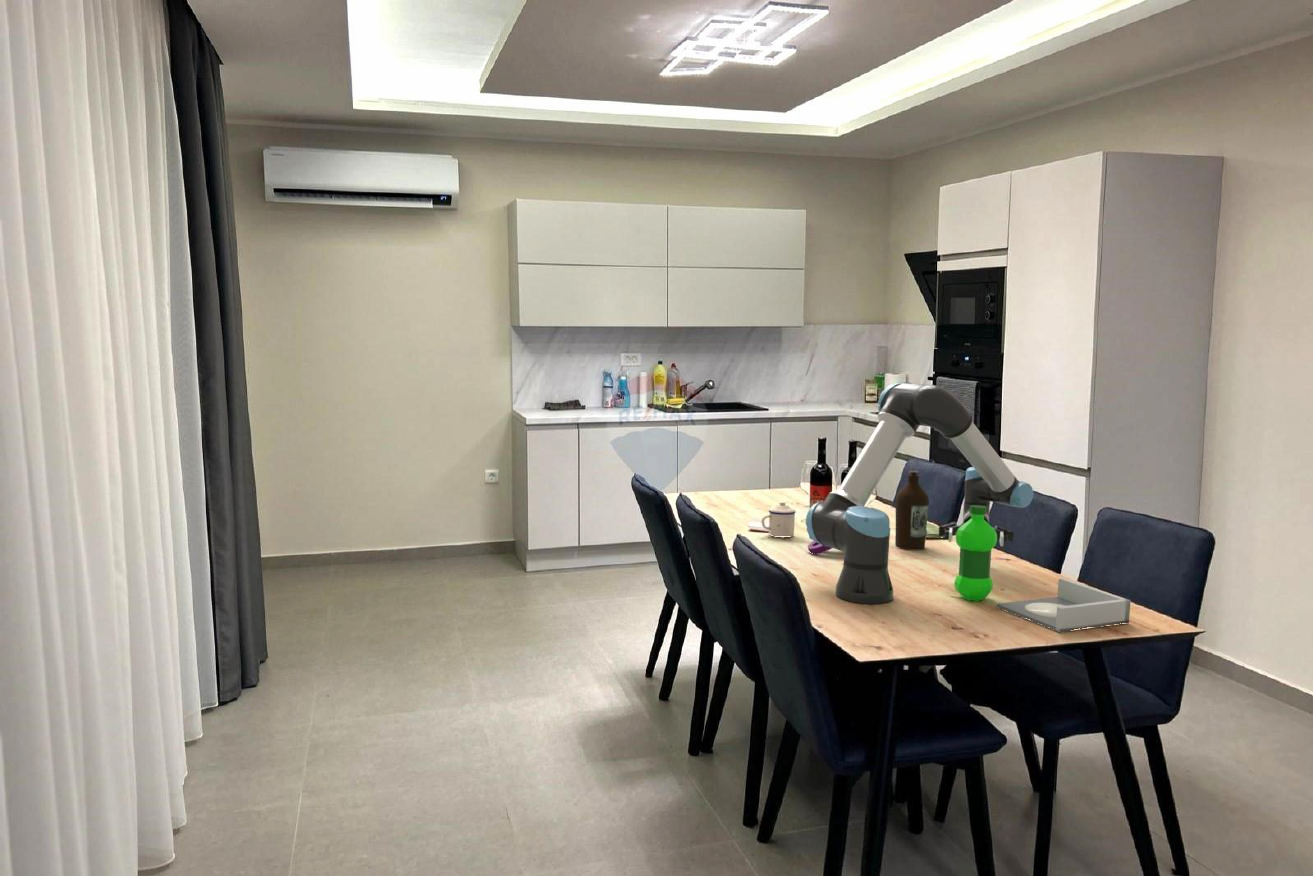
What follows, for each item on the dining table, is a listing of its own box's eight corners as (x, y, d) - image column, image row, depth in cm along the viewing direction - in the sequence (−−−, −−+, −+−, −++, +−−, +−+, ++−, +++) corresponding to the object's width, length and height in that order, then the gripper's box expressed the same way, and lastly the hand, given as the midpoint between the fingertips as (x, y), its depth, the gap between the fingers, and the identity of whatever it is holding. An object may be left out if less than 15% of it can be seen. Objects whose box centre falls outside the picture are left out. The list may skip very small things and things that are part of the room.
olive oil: (886, 544, 323) (890, 470, 320) (911, 542, 328) (915, 468, 325) (908, 551, 314) (911, 475, 311) (933, 548, 319) (937, 473, 316)
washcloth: (916, 541, 331) (917, 532, 331) (895, 530, 349) (895, 521, 348) (952, 540, 334) (953, 531, 333) (929, 529, 351) (929, 520, 351)
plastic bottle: (996, 605, 256) (1001, 511, 253) (954, 602, 258) (959, 508, 255) (990, 594, 265) (996, 504, 262) (950, 591, 267) (955, 502, 264)
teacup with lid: (787, 532, 340) (789, 499, 339) (799, 537, 331) (800, 504, 330) (756, 533, 336) (757, 500, 335) (766, 539, 328) (767, 505, 326)
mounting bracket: (821, 575, 306) (873, 551, 306) (810, 551, 305) (862, 527, 305) (815, 567, 316) (866, 544, 315) (805, 544, 315) (856, 521, 314)
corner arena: (1060, 633, 233) (1061, 608, 232) (996, 607, 253) (997, 585, 252) (1128, 623, 241) (1130, 600, 240) (1061, 599, 261) (1063, 578, 261)
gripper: (1019, 540, 286) (1023, 556, 266) (931, 533, 293) (928, 548, 273) (1021, 515, 285) (1024, 529, 265) (932, 508, 292) (929, 522, 272)
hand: (975, 539), depth 269 cm, fingers open, 13 cm apart
